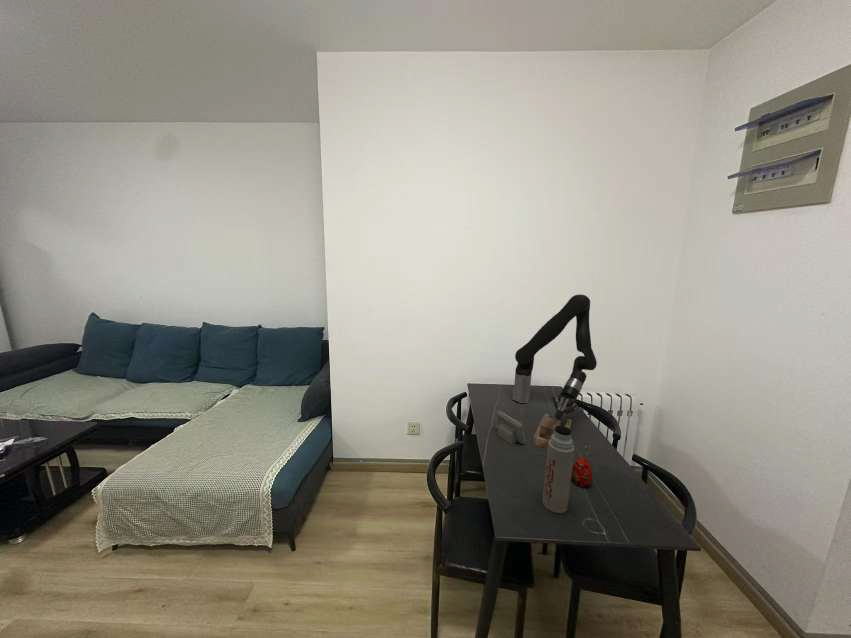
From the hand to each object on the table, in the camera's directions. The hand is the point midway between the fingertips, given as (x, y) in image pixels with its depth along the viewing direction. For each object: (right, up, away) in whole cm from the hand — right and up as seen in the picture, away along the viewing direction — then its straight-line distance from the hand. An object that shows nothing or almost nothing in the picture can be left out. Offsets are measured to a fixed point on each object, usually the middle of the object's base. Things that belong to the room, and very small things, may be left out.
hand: (557, 418), depth 156 cm
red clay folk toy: (-5, -14, -35) cm, 38 cm away
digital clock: (-25, -8, -5) cm, 26 cm away
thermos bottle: (-20, -15, -47) cm, 53 cm away
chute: (-3, -8, -2) cm, 8 cm away
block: (-7, -8, -7) cm, 13 cm away
